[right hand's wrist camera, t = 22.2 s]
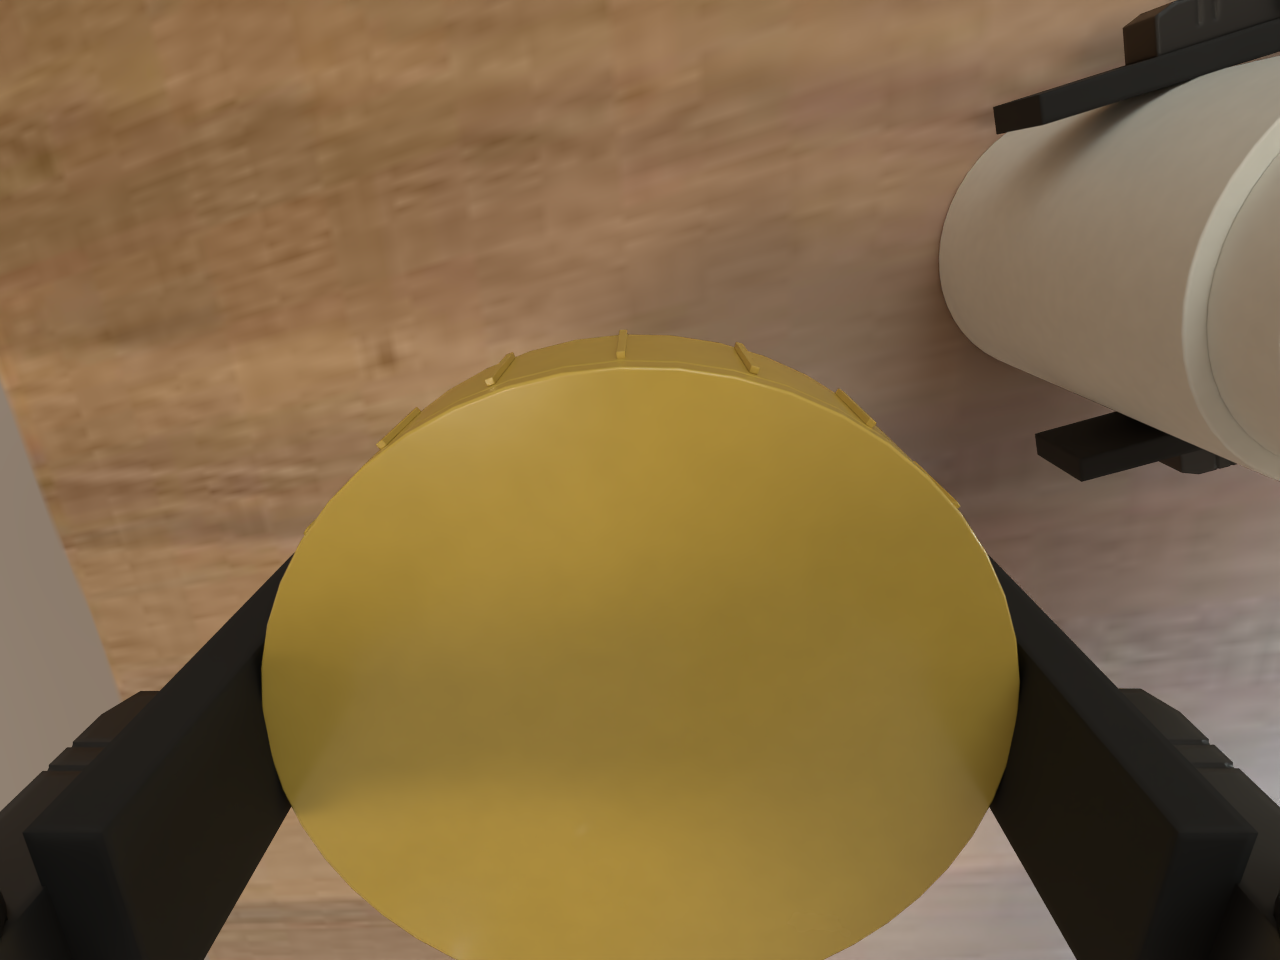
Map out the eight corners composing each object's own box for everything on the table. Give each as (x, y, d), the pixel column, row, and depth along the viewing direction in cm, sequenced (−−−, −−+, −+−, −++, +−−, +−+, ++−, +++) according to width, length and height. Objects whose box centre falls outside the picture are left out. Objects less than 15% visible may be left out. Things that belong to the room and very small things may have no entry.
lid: (200, 664, 13) (113, 757, 11) (614, 169, 10) (608, 160, 8) (656, 965, 15) (659, 1089, 13) (1087, 630, 12) (1178, 717, 10)
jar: (1225, 294, 29) (1830, 388, 14) (989, 411, 31) (1314, 603, 16) (1156, 47, 26) (1821, -154, 12) (899, 189, 28) (1194, 173, 13)
